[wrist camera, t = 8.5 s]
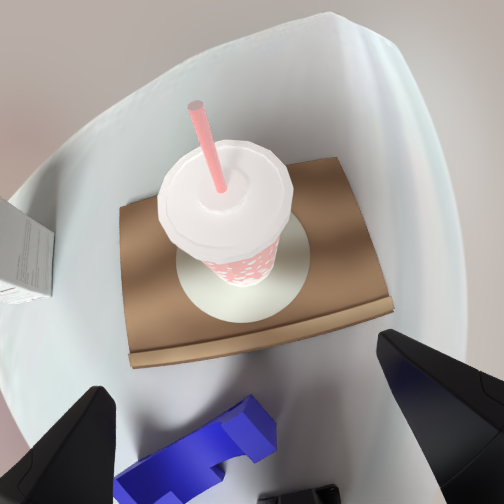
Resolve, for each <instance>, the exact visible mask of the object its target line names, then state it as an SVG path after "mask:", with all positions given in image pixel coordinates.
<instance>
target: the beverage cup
mask: <svg viewBox="0 0 504 504" xmlns="http://www.w3.org/2000/svg"><path fill="white" fill-rule="evenodd" d="M188 110H189V113H190V116H191V119H192V122H193V125H194V128H195V131H196V134H197V137H198V139H199V142H200V145H201V146H199V147H198V148H196V149H194V150H193V151H191V152H189V153H188V154H186V155H184V156H183V157H181V158H180V159H179V160H178V161H177V163H176V164H175V165H174V166H173V167H172V168H171V169H170V171H169V172H168V173H167V174H166V175H165V178H164V180H163V183H162V186H161V188H160V191H159V194H158V196H157V201H158V218H159V221H160V223H161V225H162V227H163V228H164V230H165V232H166V234H167V235H168V237H169V239H170V240H171V241H172V242H173V243H174V244H176V246H177V247H179V248H180V249H182V250H183V251H185V252H186V253H188V254H189V255H191V256H192V257H194V258H195V259H197V260H201V261H202V262H203V263H204V264H205V265H206V266H208V267H209V268H210V269H211V270H212V271H213V272H214V273H215V274H217V275H218V276H219V277H220V278H221V279H223V280H224V281H226V282H227V283H229V284H231V285H235V286H240V287H246V286H251V285H255V284H257V283H259V282H260V281H262V280H263V279H265V278H266V277H267V276H268V274H269V273H270V271H271V269H272V268H273V266H274V261H275V256H276V252H277V247H278V242H279V238H280V233H281V232H282V230H283V229H284V227H285V225H286V224H287V222H288V221H289V216H290V211H291V204H292V197H293V189H294V188H293V185H292V182H291V179H290V176H289V173H288V170H287V167H286V166H285V165H284V164H283V163H282V162H281V161H280V160H279V159H278V158H277V157H276V156H275V155H274V154H273V153H272V152H271V151H270V150H268V149H266V148H264V147H261V146H259V145H257V144H254V143H252V142H250V141H240V140H221V141H217V142H214V140H213V136H212V133H211V129H210V126H209V122H208V119H207V115H206V112H205V108H204V104H203V102H202V101H193V102H191V103H190V104H189V105H188Z"/></svg>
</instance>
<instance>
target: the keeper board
mask: <svg viewBox="0 0 504 504" xmlns="http://www.w3.org/2000/svg"><path fill="white" fill-rule="evenodd" d="M286 167H287V170H288V173H289V176H290V179H291V182H292V185H293V188H294V189H293V197H292V204H291V211H290V216H289V221H288V222H287V224H286V225H285V227H284V229H283V230H282V232H281V233H280V238H279V242H278V247H277V252H276V256H275V261H274V266H273V268H272V269H271V271H270V273H269V274H268V276H267V277H266V278H265V279H263V280H262V281H260V282H259V283H257V284H255V285H251V286H246V287H240V286H235V285H231V284H229V283H227V282H226V281H224V280H223V279H221V278H220V277H219V276H218V275H217V274H215V273H214V272H213V271H212V270H211V269H210V268H209V267H208V266H206V265H205V264H204V263H203V262H202V261H201V260H197V259H195V258H194V257H192V256H191V255H189V254H188V253H186V252H185V251H183V250H182V249H180V248H179V247H177V246H176V244H174V243H173V242H172V241H171V240H170V239H169V237H168V235H167V234H166V232H165V230H164V228H163V227H162V225H161V223H160V221H159V218H158V201H157V196H156V197H152V198H149V199H145V200H142V201H139V202H136V203H132V204H129V205H126V206H123V207H120V216H119V228H120V263H121V280H122V293H123V304H124V313H125V322H126V330H127V337H128V344H129V351H130V354H128V356H129V362H130V367H132V368H133V369H139V368H149V367H158V366H166V365H174V364H181V363H188V362H195V361H202V360H208V359H214V358H220V357H225V356H231V355H236V354H241V353H246V352H251V351H256V350H261V349H265V348H270V347H274V346H278V345H283V344H287V343H291V342H295V341H299V340H303V339H307V338H311V337H314V336H318V335H322V334H325V333H329V332H333V331H336V330H339V329H343V328H346V327H349V326H353V325H356V324H359V323H362V322H365V321H369V320H372V319H375V318H378V317H381V316H384V315H386V314H389V313H392V312H394V311H393V309H394V305H393V301H392V298H391V296H390V297H389V293H388V290H387V287H386V283H385V280H384V277H383V274H382V270H381V267H380V264H379V261H378V258H377V255H376V252H375V249H374V247H373V244H372V241H371V238H370V235H369V233H368V230H367V227H366V225H365V222H364V219H363V217H362V214H361V212H360V209H359V207H358V204H357V202H356V199H355V197H354V194H353V192H352V190H351V187H350V185H349V183H348V180H347V178H346V176H345V173H344V171H343V169H342V167H341V165H340V162H339V160H338V158H337V157H333V158H326V159H320V160H314V161H308V162H302V163H297V164H291V165H286Z"/></svg>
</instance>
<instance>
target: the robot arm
mask: <svg viewBox="0 0 504 504" xmlns="http://www.w3.org/2000/svg"><path fill="white" fill-rule="evenodd" d="M376 354H377V358H378V360H379V362H380V365H381V367H382V369H383V372H384V374H385V377H386V379H387V382H388V384H389V387H390V389H391V391H392V394H393V396H394V398H395V400H396V402H397V403H398V405H399V407H400V409H401V411H402V413H403V415H404V416H405V418H406V420H407V422H408V424H409V426H410V428H411V430H412V432H413V434H414V436H415V437H416V439H417V441H418V443H419V445H420V447H421V449H422V451H423V453H424V455H425V457H426V459H427V461H428V463H429V465H430V468H431V470H432V472H433V474H434V476H435V478H436V480H437V482H438V485H439V487H440V489H441V491H442V494H443V496H444V498H445V500H446V503H447V504H504V381H503V380H500V379H498V378H495V377H493V376H491V375H488V374H486V373H484V372H482V371H479V370H477V369H475V368H473V367H471V366H469V365H467V364H465V363H463V362H460V361H458V360H456V359H454V358H452V357H450V356H448V355H446V354H444V353H441V352H439V351H437V350H435V349H433V348H431V347H429V346H427V345H425V344H422V343H420V342H418V341H416V340H414V339H412V338H410V337H408V336H406V335H404V334H402V333H399V332H397V331H395V330H393V329H387V330H384V331H382V332H380V333H379V334H378V341H377V349H376ZM115 449H116V404H115V401H114V400H113V398H112V397H111V396H110V394H109V393H108V392H107V391H106V389H105V388H104V387H103V386H92V387H91V388H90V389H89V390H88V391H87V392H86V393H85V394H84V395H83V396H82V397H81V398H80V399H79V400H78V401H77V402H76V403H75V404H74V405H73V406H72V407H71V408H70V409H69V410H68V411H67V412H66V413H65V414H64V415H63V416H62V417H61V418H60V419H59V420H58V421H57V422H56V423H55V424H54V425H53V426H52V427H51V428H50V429H49V430H48V432H47V433H46V434H45V435H44V436H43V437H42V438H41V439H40V440H39V441H38V442H37V443H36V444H35V445H34V446H33V448H31V449H30V450H29V451H28V453H27V454H26V455H25V456H24V457H23V458H22V459H21V460H20V461H19V462H18V463H16V465H14V466H13V467H12V468H11V469H10V470H9V471H8V472H6V473H5V474H4V475H3V476H2V477H1V478H0V504H113V480H114V462H115ZM333 488H334V490H333V491H330V489H333ZM261 503H265V504H341V499H340V493H339V489H338V486H337V485H335V484H331V485H327V486H323V487H319V488H316V489H308V490H303V491H298V492H294V493H289V494H283V495H280V496H277V497H270V498H263V499H259V500H258V501H257V504H261Z"/></svg>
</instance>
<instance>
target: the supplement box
mask: <svg viewBox="0 0 504 504" xmlns="http://www.w3.org/2000/svg"><path fill="white" fill-rule="evenodd" d="M53 245H54V232H52V231H50V230H49V229H47V228H46V227H44V226H43V225H41V224H39V223H38V222H36V221H35V220H33V219H32V218H30V217H29V216H27V215H26V214H24V213H23V212H22V211H20V210H19V209H17V208H16V207H14V206H13V205H11V204H10V203H9V202H7V201H6V200H4V199H3V198H2V197H0V301H3V302H6V303H10V304H18V303H23V302H28V301H34V300H40V299H44V298H50V297H51V296H52V291H51V282H52V257H53Z"/></svg>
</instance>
